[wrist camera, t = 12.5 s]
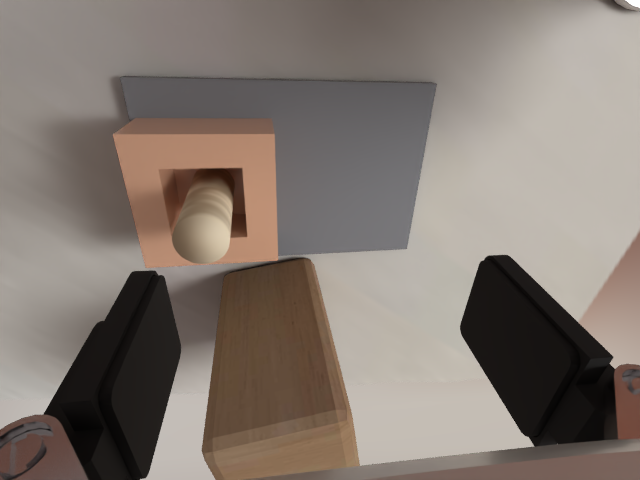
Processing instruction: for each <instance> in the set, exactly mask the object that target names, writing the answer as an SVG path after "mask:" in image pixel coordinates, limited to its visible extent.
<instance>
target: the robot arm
mask: <svg viewBox="0 0 640 480" xmlns="http://www.w3.org/2000/svg"><path fill="white" fill-rule="evenodd" d="M614 1H615V2H616V3H617V4H619V5H621V6H622V7H624V8H626V9H630V10H635V11H640V0H614ZM460 330H461V334H462V336H463V338H464V340H465V341H466V343H467V345H468V346H469V348H470V350H471V351H472V353H473V354H474V356H475V358H476V359H477V361H478V363H479V364H480V366H481V367H482V369H483V371H484V372H485V374H486V376H487V377H488V379H489V380H490V382H491V384H492V385H493V387H494V388H495V390H496V392H497V393H498V395H499V397H500V398H501V400H502V402H503V403H504V405H505V406H506V408H507V410H508V411H509V413H510V414H511V416H512V418H513V419H514V421H515V422H516V424H517V426H518V427H519V429H520V431H521V432H522V433H523V434H524V435H525V436H527V437H529V438H530V440H531V441H532V443H533V444H534V446H535V447H528V448H518V449H508V450H499V451H490V452H480V453H471V454H462V455H453V456H444V457H435V458H426V459H417V460H408V461H399V462H390V463H381V464H372V465H364V466H354V467H346V468H337V469H328V470H320V471H311V472H303V473H294V474H286V475H277V476H269V477H260V478H252V479H243V480H640V365H634V364H624V365H620V366H618V367H617V368H616V369H614V368H613V367H612V366H611V365H610V364H609V363H610V362H611V360H612V359H613V356H612V355H611V354H610V353H609V352H608V351H607V350H605V348H604V347H603V346H602V345H601V344H600V343H599V342H598V341H597V340H595V338H593V337H592V336H591V335H590V334H589V333H588V332H587V331H586V330H585V329H584V328H583V327H582V326H581V325H580V324H579V323H578V322H577V321H576V320H575V319H574V318H573V317H572V316H571V315H570V314H569V313H568V312H567V311H566V310H565V309H564V308H563V307H562V306H560V305H559V304H558V303H557V302H556V301H555V300H554V299H553V298H552V297H551V296H550V295H549V294H548V293H547V292H546V291H545V290H544V289H543V288H542V287H541V286H540V285H539V284H538V283H537V282H536V281H535V280H534V279H533V278H532V277H531V276H530V275H529V274H528V273H526V272H525V271H524V270H523V269H522V268H521V267H520V266H519V265H518V264H517V263H516V262H515V261H514V260H513V259H512V258H511V257H510V256H508V255H493V256H487V257H486V258H485V260H484V261H481V262H480V264H479V267H478V270H477V273H476V276H475V280H474V283H473V286H472V289H471V293H470V296H469V299H468V302H467V305H466V309H465V312H464V315H463V318H462V321H461V325H460ZM180 354H181V344H180V340H179V335H178V331H177V327H176V323H175V319H174V315H173V310H172V306H171V302H170V298H169V294H168V290H167V285H166V281H165V278H164V276H162V275H159V276H158V274H157V272H156V271H134V272H132V273H131V274H130V276H129V278H128V279H127V281H126V283H125V285H124V287H123V288H122V290H121V292H120V294H119V296H118V297H117V299H116V301H115V303H114V305H113V306H112V308H111V310H110V312H109V314H108V315H107V317H106V319H105V321H100V322H99V323H97V324H96V325H95V327H94V328H93V330H92V331H91V333H90V335H89V337H88V338H87V340H86V342H85V343H84V345H83V347H82V349H81V350H80V352H79V354H78V356H77V357H76V359H75V361H74V362H73V364H72V366H71V368H70V369H69V371H68V373H67V375H66V376H65V378H64V380H63V381H62V383H61V385H60V387H59V388H58V390H57V392H56V394H55V395H54V397H53V399H52V400H51V402H50V404H49V406H48V408H47V409H46V411H45V413H44V414H43V415H33V416H29V417H25V418H21V419H19V420H17V421H15V422H13V423H10V424H8V425H7V426H5V427H4V428H2V429H1V430H0V480H140V479H142V478H146V477H147V475H148V473H149V470H150V466H151V463H152V459H153V455H154V452H155V447H156V444H157V440H158V437H159V433H160V429H161V426H162V422H163V418H164V414H165V411H166V407H167V403H168V400H169V396H170V392H171V388H172V385H173V381H174V377H175V374H176V370H177V366H178V362H179V359H180Z"/></svg>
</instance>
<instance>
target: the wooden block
mask: <svg viewBox="0 0 640 480" xmlns="http://www.w3.org/2000/svg"><path fill="white" fill-rule="evenodd" d="M202 453H203V456H204V459H205V461H206V463H207V465H208V467H209V469H210V470H211V472H212V474H213V475H214V477H215V479H216V480H243V479H252V478H260V477H269V476H277V475H286V474H294V473H303V472H311V471H320V470H328V469H337V468H346V467H354V466H360V464H359V458H358V451H357V444H356V437H355V431H354V424H353V418H352V413H351V409H350V405H349V401H348V397H347V393H346V389H345V385H344V381H343V377H342V373H341V369H340V365H339V361H338V357H337V353H336V349H335V346H334V342H333V338H332V334H331V330H330V326H329V322H328V318H327V314H326V310H325V306H324V302H323V298H322V294H321V290H320V286H319V282H318V278H317V274H316V270H315V266H314V264H313V263H312V262H311V260H310V259H308V258H301V259H296V260H291V261H286V262H281V263H276V264H271V265H266V266H261V267H257V268H252V269H247V270H242V271H237V272H232V273H229V274H228V275H226V276H225V277H224V280H223V287H222V295H221V303H220V311H219V319H218V327H217V334H216V342H215V350H214V358H213V366H212V374H211V382H210V389H209V397H208V405H207V413H206V421H205V429H204V437H203V445H202Z"/></svg>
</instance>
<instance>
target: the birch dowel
mask: <svg viewBox="0 0 640 480" xmlns="http://www.w3.org/2000/svg"><path fill="white" fill-rule="evenodd" d="M234 188H235V184H234V180H233V177H232V176H231V174H230V173H229V172H228V171H227V170H226V169H224V168H201V169H199V170H198V171H197V172H196V173H195V175H194V177H193V180H192V183H191V186H190V188H189V191H188V194H187V196H186V199H185V202H184V204H183V207H182V210H181V212H180V215H179V218H178V220H177V223H176V226H175V228H174V231H173V234H172V243H173V246H174V248H175V250H176V252H177V253H178V254H179V255H180V256H181V257H183V258H184V259H186V260H188V261H190V262H193V263H197V264H208V263H212V262H215V261H217V260H219V259H220V258H222V257H223V256H224V255H225V254H226V252H227V251H228V248H229V244H230V234H231V222H232V211H233V200H234Z"/></svg>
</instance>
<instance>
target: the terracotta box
mask: <svg viewBox="0 0 640 480" xmlns="http://www.w3.org/2000/svg"><path fill="white" fill-rule="evenodd" d="M113 138H114V142H115V146H116V150H117V154H118V158H119V162H120V166H121V170H122V174H123V178H124V182H125V186H126V190H127V194H128V198H129V202H130V206H131V210H132V214H133V218H134V222H135V226H136V230H137V234H138V238H139V242H140V246H141V250H142V254H143V258H144V262H145V266H146V268H152V267H170V266H188V265H206V264H197V263H193V262H190V261H188V260H186V259H184V258H183V257H181V256H180V255H179V254H178V253H177V252H176V250H175V248H174V246H173V243H172V234H173V231H174V228H175V226H176V223H177V220H178V218H179V215H180V212H181V210H182V207H183V204H184V202H185V199H186V196H187V194H188V191H189V188H190V186H191V183H192V180H193V177H194V175H195V173H196V172H197V171H198V170H199V169H201V168H224V169H226V170H227V171H228V172H229V173H230V174H231V176H232V177H233V180H234V184H235V188H234V200H233V211H232V222H231V234H230V244H229V248H228V251H227V252H226V254H225V255H224V256H223V257H222V258H220V259H219V260H217V261H215V262H212V263H208V264H224V263H242V262H260V261H278V234H277V198H276V162H275V133H274V128H273V122H272V118H135V119H133V120H132V121H131V122H129V123H128V124H127V125H125V126H124V127H122V128H121V129H120V130H118V131H117V132H115V133H114V134H113Z"/></svg>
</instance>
